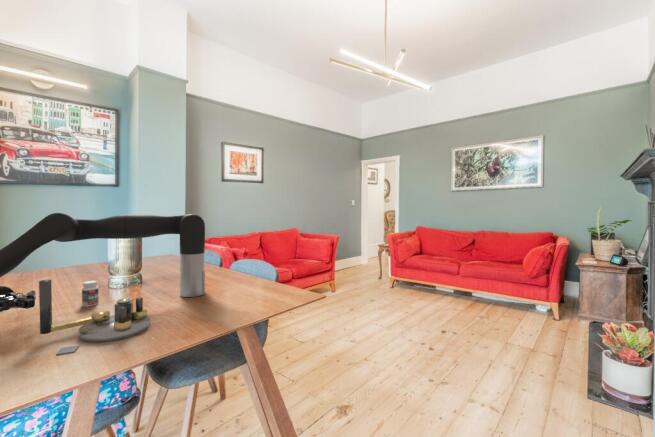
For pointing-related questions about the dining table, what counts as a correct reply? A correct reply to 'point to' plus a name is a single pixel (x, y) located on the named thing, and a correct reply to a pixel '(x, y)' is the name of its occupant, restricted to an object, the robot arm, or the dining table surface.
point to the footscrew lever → (46, 312)
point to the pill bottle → (90, 294)
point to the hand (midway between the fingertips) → (31, 304)
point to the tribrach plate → (108, 332)
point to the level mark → (67, 350)
